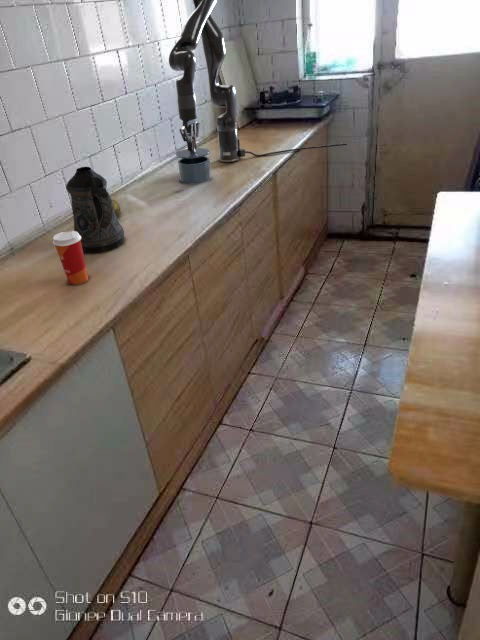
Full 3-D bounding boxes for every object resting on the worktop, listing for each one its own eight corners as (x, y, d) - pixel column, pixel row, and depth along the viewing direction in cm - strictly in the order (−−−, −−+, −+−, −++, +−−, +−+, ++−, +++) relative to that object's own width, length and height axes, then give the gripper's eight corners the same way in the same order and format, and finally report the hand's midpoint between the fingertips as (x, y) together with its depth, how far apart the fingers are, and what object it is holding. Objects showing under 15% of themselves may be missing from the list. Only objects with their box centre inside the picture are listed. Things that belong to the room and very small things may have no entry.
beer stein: (94, 231, 169) (76, 159, 155) (142, 235, 163) (128, 161, 149) (65, 251, 156) (43, 175, 142) (116, 257, 150) (98, 178, 136)
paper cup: (68, 275, 142) (55, 231, 134) (94, 272, 142) (82, 228, 134) (62, 288, 135) (48, 242, 127) (89, 285, 136) (77, 240, 128)
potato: (129, 210, 184) (125, 190, 179) (112, 223, 174) (107, 202, 169) (111, 209, 186) (106, 189, 182) (92, 222, 176) (87, 201, 172)
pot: (200, 172, 219) (198, 154, 214) (217, 179, 209) (215, 159, 204) (174, 179, 212) (172, 160, 208) (190, 186, 203) (188, 166, 198)
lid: (198, 148, 213) (196, 133, 210) (216, 154, 203) (215, 138, 199) (169, 155, 206) (167, 139, 203) (187, 162, 196) (185, 145, 193)
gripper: (187, 109, 187) (192, 154, 197) (203, 103, 198) (207, 146, 207) (170, 109, 190) (176, 153, 200) (187, 103, 201) (192, 145, 210)
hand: (192, 149), depth 204 cm, fingers closed on lid, 2 cm apart
